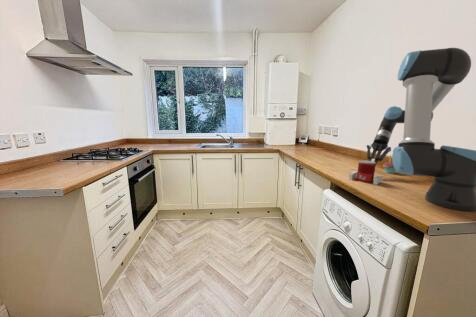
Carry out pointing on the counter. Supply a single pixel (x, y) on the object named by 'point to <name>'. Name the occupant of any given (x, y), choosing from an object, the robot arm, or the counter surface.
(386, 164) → the cupcake
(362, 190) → the counter surface
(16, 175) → the counter surface
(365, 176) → the canned food
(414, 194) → the counter surface
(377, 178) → the channel
